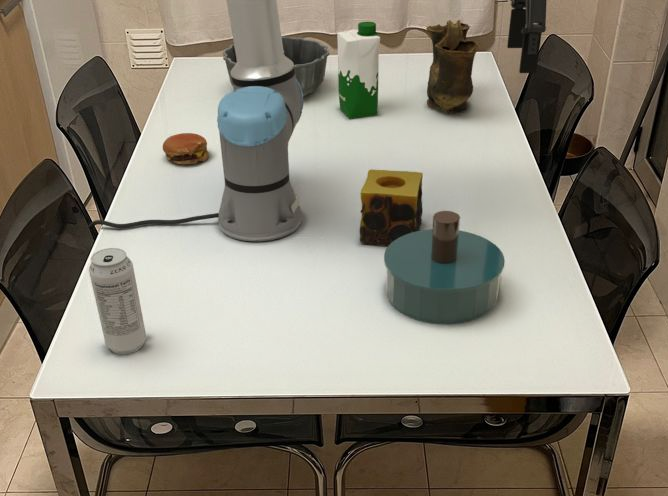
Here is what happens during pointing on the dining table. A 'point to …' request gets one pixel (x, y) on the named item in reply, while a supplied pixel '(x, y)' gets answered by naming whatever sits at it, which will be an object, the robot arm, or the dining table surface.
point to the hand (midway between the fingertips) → (521, 59)
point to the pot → (441, 302)
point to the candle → (390, 206)
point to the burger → (186, 148)
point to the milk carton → (358, 70)
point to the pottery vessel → (451, 67)
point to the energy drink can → (117, 300)
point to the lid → (444, 257)
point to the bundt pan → (296, 61)
